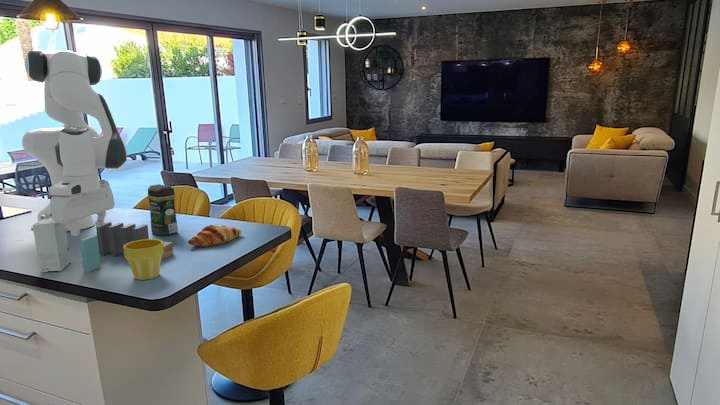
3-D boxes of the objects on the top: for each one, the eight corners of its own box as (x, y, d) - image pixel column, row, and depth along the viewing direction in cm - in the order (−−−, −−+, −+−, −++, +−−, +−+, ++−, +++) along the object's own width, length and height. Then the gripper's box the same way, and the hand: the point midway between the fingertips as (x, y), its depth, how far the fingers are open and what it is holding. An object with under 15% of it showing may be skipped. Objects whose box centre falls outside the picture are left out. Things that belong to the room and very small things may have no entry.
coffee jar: (147, 233, 178) (143, 185, 174) (166, 228, 184) (162, 182, 180) (162, 237, 172) (157, 188, 168) (181, 232, 179) (177, 185, 175)
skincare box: (61, 271, 139) (54, 223, 136) (38, 273, 137) (31, 224, 134) (71, 262, 147) (65, 216, 144) (50, 263, 145) (43, 217, 142)
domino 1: (84, 272, 138) (79, 239, 136) (96, 266, 143) (92, 235, 141) (88, 272, 138) (84, 240, 136) (101, 266, 143) (97, 235, 141)
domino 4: (123, 257, 151) (120, 227, 149) (134, 252, 156) (131, 223, 154) (128, 257, 151) (124, 227, 149) (138, 252, 156) (135, 223, 154)
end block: (147, 261, 148) (145, 249, 147) (162, 253, 156) (161, 241, 155) (158, 262, 147) (157, 249, 146) (173, 253, 155) (172, 242, 154)
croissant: (237, 243, 178) (230, 223, 179) (251, 235, 172) (244, 215, 173) (186, 255, 162) (179, 234, 163) (199, 248, 156) (192, 225, 157)
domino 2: (99, 255, 153) (96, 225, 151) (110, 250, 158) (107, 222, 156) (103, 255, 153) (100, 226, 151) (114, 250, 158) (111, 222, 155)
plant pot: (135, 269, 141) (132, 238, 139) (171, 269, 141) (168, 238, 139) (120, 283, 131) (116, 249, 129) (158, 282, 131) (155, 249, 129)
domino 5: (136, 258, 150) (133, 228, 148) (146, 253, 155) (143, 224, 153) (140, 258, 150) (137, 228, 148) (150, 253, 155) (147, 224, 153)
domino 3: (111, 256, 152) (108, 226, 150) (122, 251, 157) (119, 222, 155) (116, 256, 152) (112, 227, 150) (126, 251, 157) (123, 223, 155)
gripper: (99, 178, 146) (104, 221, 148) (43, 190, 126) (50, 239, 129) (117, 178, 144) (122, 222, 147) (63, 191, 125) (70, 241, 128)
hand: (88, 230), depth 138 cm, fingers open, 8 cm apart
